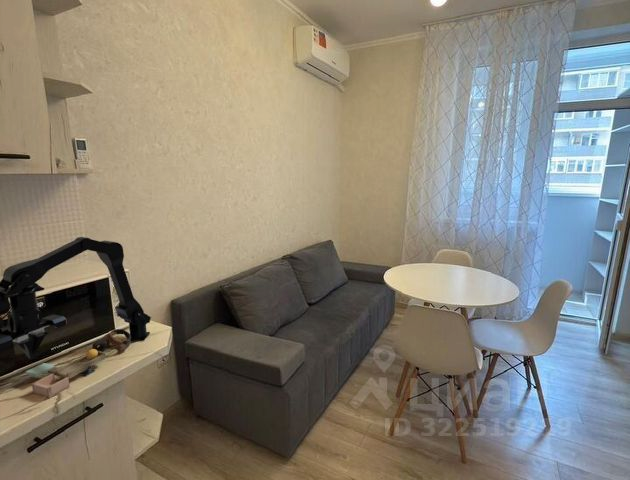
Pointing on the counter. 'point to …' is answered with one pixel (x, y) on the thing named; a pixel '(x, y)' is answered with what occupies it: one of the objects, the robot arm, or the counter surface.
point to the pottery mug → (112, 341)
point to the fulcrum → (87, 372)
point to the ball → (92, 354)
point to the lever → (67, 367)
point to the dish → (50, 386)
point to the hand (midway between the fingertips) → (31, 358)
